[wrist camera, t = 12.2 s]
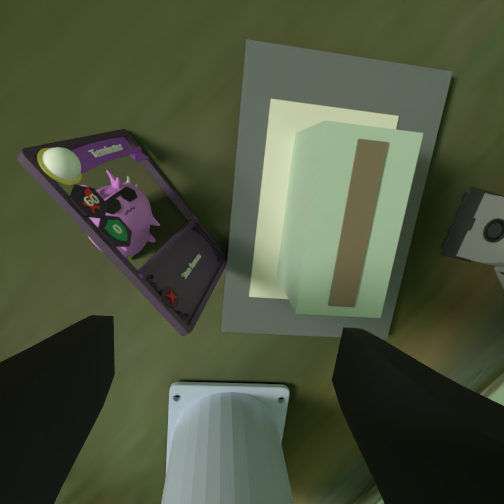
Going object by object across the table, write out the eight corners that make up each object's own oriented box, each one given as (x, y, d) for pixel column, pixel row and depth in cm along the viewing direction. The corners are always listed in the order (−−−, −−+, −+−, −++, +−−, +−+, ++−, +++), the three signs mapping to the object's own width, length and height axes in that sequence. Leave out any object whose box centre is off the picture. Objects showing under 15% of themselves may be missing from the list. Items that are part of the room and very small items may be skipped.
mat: (382, 334, 21) (387, 340, 21) (221, 326, 20) (221, 332, 19) (444, 74, 17) (454, 71, 16) (245, 44, 16) (246, 38, 15)
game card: (202, 328, 13) (29, 135, 10) (122, 368, 15) (-38, 216, 12) (239, 253, 18) (135, 119, 16) (178, 289, 21) (77, 176, 18)
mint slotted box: (366, 141, 17) (424, 132, 12) (340, 279, 19) (381, 319, 14) (294, 133, 16) (326, 120, 12) (276, 275, 19) (296, 314, 14)
